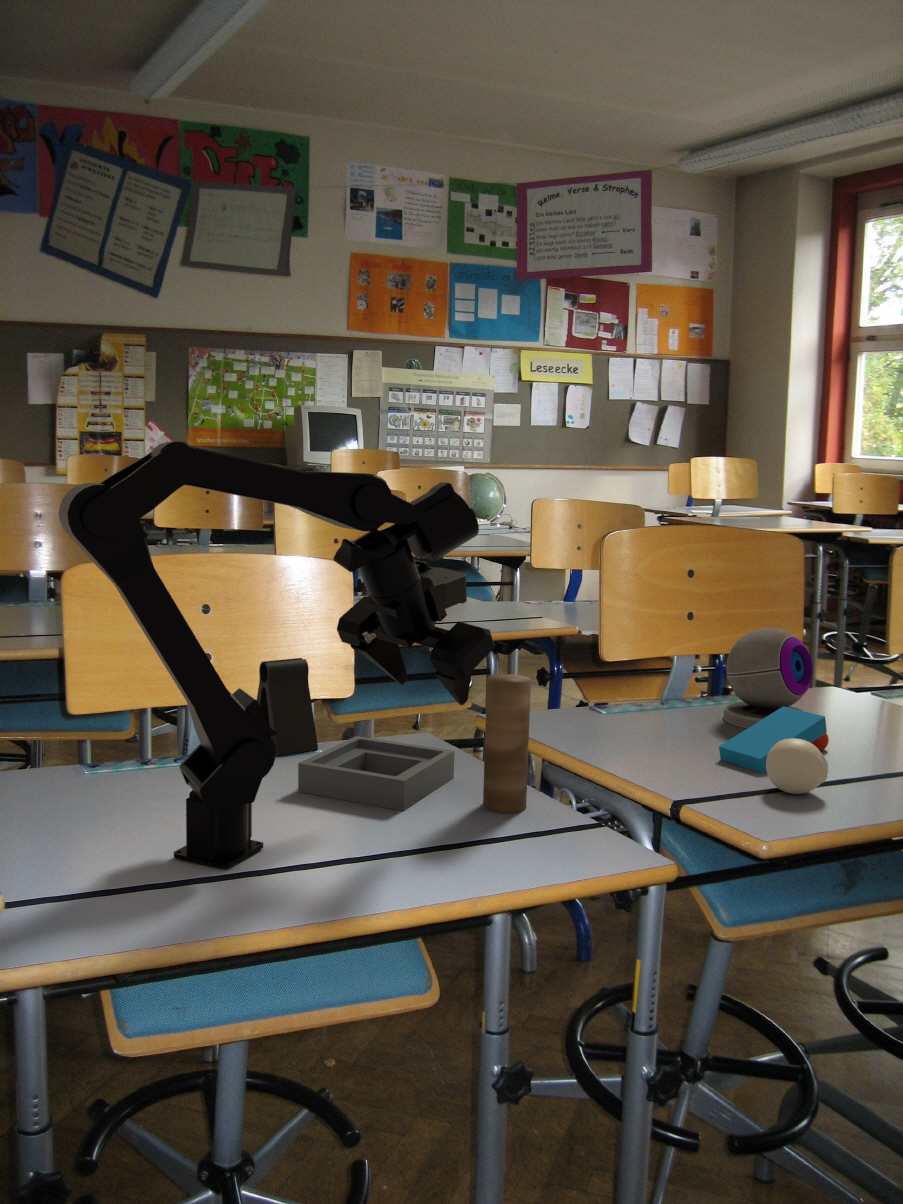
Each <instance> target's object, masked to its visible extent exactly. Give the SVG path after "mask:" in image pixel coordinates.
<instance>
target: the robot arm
mask: <svg viewBox="0 0 903 1204" xmlns="http://www.w3.org/2000/svg"><path fill="white" fill-rule="evenodd" d="M183 486H188V487H193V488H198V489H204V490H207V491H213V492H218V493H219V492H220V493H221V494H222V493H223V494H229V495H233V496H238V497H242V498H248V499H252V500H258V501H264V502H269V503H272V504H273V503H274V504H279V505H283V506H287V507H291V508H293V509H295V510H298V511H300V512H302V513H305V514H307V515H309V516H311V517H314V518H315V519H319V520H321V521H324V522H326V523H328V524H331V525H333V526H336V527H339V528H343V529H349V530H355V531H359V532H360V531H361V532H366V533H365V534H362V535H361V536H360V537H358V538H356V539H353V540H350V539H347V538H343V539H342V540H341V545H340V546H339V548H338V549H337V551H336V552H335V554H334V555H333V558H332V559H333V561H334V562H335V564H337V565H339V566H340V567H342V568H343V569H344V570H347V572H350V573H353V572H355V571H357V570H359V573H360V575H361V578H362V580H363V581H362V582H363V583H364V585H365V588H366V591H367V593H368V595H367V596H366V595H364V596H363V597H362V598H360V600H359V601H357V602H356V603H355V604H354V605H352V607H350V608H349V609H348V610H347V611H346V612H345V613H344V614H343V615H341V616H340V617H339V618H338V623H337V627H336V631H337V634H338V636H339V638H340V641H341V643H345V644H348V645H349V647H351V649H353V650H354V651H356V652H358V653H359V654H361V655H362V656H363V657H364V658H366V659H367V660H368V661H370V662H372V663H373V664H374V665H375V666H376V667H378V668H379V669H380V670H382V671H383V672H384V674H386V675H388V676H389V677H390V678H391V679H393V680H394V681H395V682H396V683H398V684H399V685H401V686H403V685H405V683H406V682H408V680H409V679H408V671H407V669H406V664H405V662H404V658H403V655H402V651H401V648H400V646H401V647H405V648H408V649H410V647H412V646H413V645H414V644H417V645H421V646H424V647H427V648H431V652H430V657H429V661H430V662H431V665H432V667H433V668H434V669H435V670H436V671H435V672H434V675H435V676H436V678H437V679H438V680H439V682H440V683H441V684H442V686H443V687H444V688H445V689H446V690H447V692H448V693H449V694H450V696H451V697H452V698H453V699H454V700H455V701H456V702H457V703H458V704H459V706H464V705H465V704H466V703H467V702H468V701H469V693H470V685H471V684H470V683H471V678H472V677H471V676H472V672H473V671H474V670H475V668H477V666H479V664H481V662H482V661H484V659H486V658H487V656H488V655H489V654H491V652H492V651H493V650H494V649H495V648H496V647H495V646H496V645H495V641H494V640H493V635H492V632H491V630H490V629H489V628H484V627H480V626H477V625H473V624H469V623H466V622H462V621H457V622H456V623H455V624H454V625H453V626H452V627H451V628H450V629H445V628H441V627H440V626H439V627H438V626H436V623H437V622H442V621H443V620H444V619H445V618H446V617H447V616H448V613H447V611H446V609H449V608H452V607H453V606H457V605H458V604H465V603H466V602H467V600H468V599H467V598H468V595H467V593H468V592H467V574H466V573H465V572H462V571H458V570H453V569H449V568H445V567H435V566H429V565H428V563H427V562H426V561H421V560H418V559H422V558H425V559H426V560H428V561H429V562H431V563H432V562H436V561H438V560H440V559H441V558H443V557H445V556H446V555H447V554H449V553H451V552H452V551H454V550H456V549H458V548H459V547H461V546H462V545H465V544H466V543H467V542H469V541H471V540H472V539H474V538H475V537H477V536H478V535H479V533H480V529H479V528H480V525H479V521H478V518H477V515H476V513H475V511H474V509H472V508H471V507H470V506H469V505H468V503H467V502H466V501H465V498H463V497H462V496H460V494H458V493H457V492H456V491H455V489H454V487H453V485H452V483H451V482H444V481H443V482H442V481H441V482H439V483H437V484H435V485H434V486H433V487H431V488H430V489H429V490H428V491H426V492H425V493H423V494H422V495H420V496H418V497H416V498H415V499H413V500H411V501H410V502H409V501H407V500H404V499H402V498H400V497H399V496H397V495H396V494H393V493H392V490H391V489H390V487H389V485H388V484H387V481H386V480H385V479H384V478H383V477H381V476H378V475H376V474H374V473H367V472H366V473H365V472H364V473H363V472H361V473H360V472H344V471H343V472H342V471H341V472H339V471H310V470H309V471H307V470H300V469H297V468H291V467H286V466H282V465H277V464H273V463H269V462H263V461H259V460H255V459H251V458H245V457H241V456H237V455H231V454H227V453H223V452H218V451H213V450H210V449H205V448H200V447H196V446H193V445H191V444H190V443H187V442H186V441H165V442H162V443H159V444H158V445H157V446H155V447H154V448H153V450H152V451H150V452H149V453H147V454H146V455H145V456H143V457H141V458H139V459H138V460H136V461H134V462H132V463H130V464H128V465H126V467H124V468H122V469H120V470H118V471H117V472H115V473H113V474H112V475H109V476H108V477H107V478H106V479H104V480H102V481H101V482H99V483H97V482H84V483H80V484H78V485H75V486H74V487H72V488H71V489H69V490H68V491H67V492H66V493H65V494H64V496H63V498H62V499H61V502H60V505H59V509H58V520H59V522H60V525H61V526H62V529H63V530H64V532H65V534H67V535H68V537H69V538H70V539H71V540H72V541H73V542H74V543H75V544H76V546H78V548H79V549H80V550H81V551H83V553H84V554H85V555H86V556H87V557H88V559H90V561H91V562H92V563H94V565H95V566H96V567H97V568H98V569H99V570H100V571H101V572H102V573H103V574H104V575H105V576H106V578H108V580H109V581H110V582H111V583H112V584H113V585H114V587H115V588H116V590H117V591H118V593H119V595H120V596H121V598H122V600H123V601H124V602H125V603H124V604H126V606H127V608H128V609H129V611H130V613H131V614H132V616H133V618H134V619H135V621H136V623H137V624H138V625H139V628H141V630H142V632H143V634H144V635H145V637H146V638H147V640H148V642H149V643H150V645H151V646H152V648H153V650H154V651H155V652H156V653H155V654H157V657H158V658H159V659H160V661H161V663H162V665H163V666H164V667H165V669H166V671H167V672H168V674H169V675H170V677H171V679H172V680H173V682H174V683H175V686H176V687H177V689H178V690H179V692H180V694H182V696H183V698H184V700H185V701H186V704H187V706H188V710H189V713H190V717H191V720H192V724H193V727H194V731H195V733H196V736H197V738H198V741H199V744H198V745H197V746H196V747H195V748H194V750H193V751H191V753H190V754H189V755H188V756H187V757H186V758H185V759H184V760H183V761H182V762H181V763H180V765H179V770H180V773H181V775H182V777H183V779H184V780H183V781H184V782H185V784H186V785H187V786H189V787H190V789H192V790H191V791H190V792H189V794H188V797H187V798H186V799H185V821H186V822H185V831H186V833H185V836H186V837H185V839H186V842H185V843H186V844H185V845H184V846H183V847H180V848H178V849H176V850H174V851H173V858H175V859H178V860H184V861H188V862H194V863H197V864H201V865H202V864H203V865H207V866H211V867H216V868H220V869H228V868H230V867H232V866H234V865H236V864H238V863H240V862H241V861H242V860H244V859H246V858H249V857H250V856H252V855H253V854H255V853H257V852H259V851H260V850H262V849H263V848H264V842H262V841H259V840H254V839H251V838H252V835H253V832H252V828H253V827H252V825H253V822H252V821H253V820H252V814H253V813H252V810H253V804H252V803H254V802H255V800H256V797H257V795H258V792H259V789H260V786H261V784H262V781H263V779H264V778H265V777H266V776H267V775H269V773H270V771H271V770H272V768H273V766H274V764H275V760H276V758H277V757H278V756H277V749H276V746H275V743H274V741H273V739H272V738H271V736H276V735H277V732H276V731H275V730H273V729H272V728H271V727H270V726H269V725H268V724H267V723H266V721H265V718H264V716H263V713H262V710H261V708H260V706H259V704H258V701H257V699H256V698H255V697H253V696H252V695H250V694H248V693H247V692H246V691H244V690H243V689H242V688H240V687H239V688H237V689H236V690H235V691H234V692H233V693H231V692H230V691H229V690H228V688H227V687H226V686H225V683H224V682H223V680H222V678H221V677H220V675H219V673H218V672H217V670H216V669H215V666H214V665H213V664H212V662H211V660H210V659H209V657H208V655H207V653H206V652H205V650H204V648H203V647H202V645H201V644H200V642H199V640H198V638H197V637H196V635H195V634H194V632H193V629H192V628H191V627H190V625H189V624H188V622H187V620H186V619H185V617H184V615H183V613H182V611H181V610H180V609H179V607H178V605H177V604H176V602H175V600H174V599H173V597H172V595H171V593H170V592H169V590H168V588H167V587H166V585H165V583H164V582H163V580H162V579H161V576H159V574H158V572H157V571H156V568H155V565H154V563H153V560H152V556H151V552H150V548H149V545H148V540H147V538H146V535H145V532H144V530H143V526H142V524H141V521H140V519H141V518H143V517H144V516H146V515H147V514H149V513H151V512H152V511H153V510H154V509H156V508H157V507H158V506H159V505H160V504H162V503H163V502H164V501H165V500H167V499H168V498H169V497H171V495H173V494H174V493H175V492H176V491H178V490H179V489H181V488H182V487H183ZM385 523H387V524H392V525H390V526H388V527H386V528H383V529H380V530H379V528H381V527H382V526H383V525H384V524H385ZM414 556H415V557H417V558H418V559H415V558H414Z"/></svg>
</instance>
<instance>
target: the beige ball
mask: <svg viewBox="0 0 903 1204" xmlns="http://www.w3.org/2000/svg"><path fill="white" fill-rule="evenodd" d="M766 771H767V772H766V774H767V778H768V779H769V781H770V783H771V784H773V786H775V787H776V788H777V789H778V790H781V791H782V792H785V793H787V794H792V795H801V794H806V793H809V792H812V791H814V790H815V789H816V788H817V787H819V786H820V785H821V784H823V783H825V782H826V780H827V779H828V774H829V765H828V761H827V759H826V757H825V755H824V754H823V753H822V752H821V751H819V749H818V748H817V747H816V746H814V745H813V744H812V743H810V742H808V741H805V740H802V739H796V738H791V739H784V740H781V741H779V742H777V743H776V744H775V745H774V746H773V747H772V748H771V750H770V751H769V753H768V756H767V760H766Z"/></svg>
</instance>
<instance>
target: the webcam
mask: <svg viewBox="0 0 903 1204" xmlns="http://www.w3.org/2000/svg"><path fill="white" fill-rule="evenodd" d="M813 669H814V667H813V661H812V657H811V655H810V652H809V650H808V648H807V646H806V645H805V644H804V643H803V641H802V640H800V639H799V638H798V637H796V636H795V635H794V634H792V633H791V632H789V631H786V630H784V629H780V628H777V627H776V628H775V627H762V628H757V629H753V630H752V631H749V632H747V633H746V634H744V635H742V636H741V637H739V639H738V640H737V641H736V642H735V643H734V645H733V646H732V647H731V649H730V651H729V653H728V656H727V660H726V666H725V671H726V677H727V682H728V684H729V686H730V689H731V690H732V691H733V692H734V694H735V696H736V697H738V699H740V701H738V702H733V703H729V704H727V705H726V706H724V710H723V720H724V721H725V722H728V723H729V724H731V725H734V726H737V727H740V728H744V729H748V728H749V727H751V726H752V725H754V724H756V723H757V722H759V721H760V720H762V719H764V718H765V717H767V716H769V715H770V714H772V713H773V712H775V711H777V710H778V709H780V708H782V707H788V708H792V709H796V710H800V711H804V712H806V711H805V710H803V709H801V708H798V707H795V706H792V705H794V704H796V703H797V702H798V701H800V700H801V699H802V697H803V696H804V695H805V694H806V692H808V690H809V688H810V686H811V683H812V681H813V673H814V672H813V671H814V670H813Z"/></svg>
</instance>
